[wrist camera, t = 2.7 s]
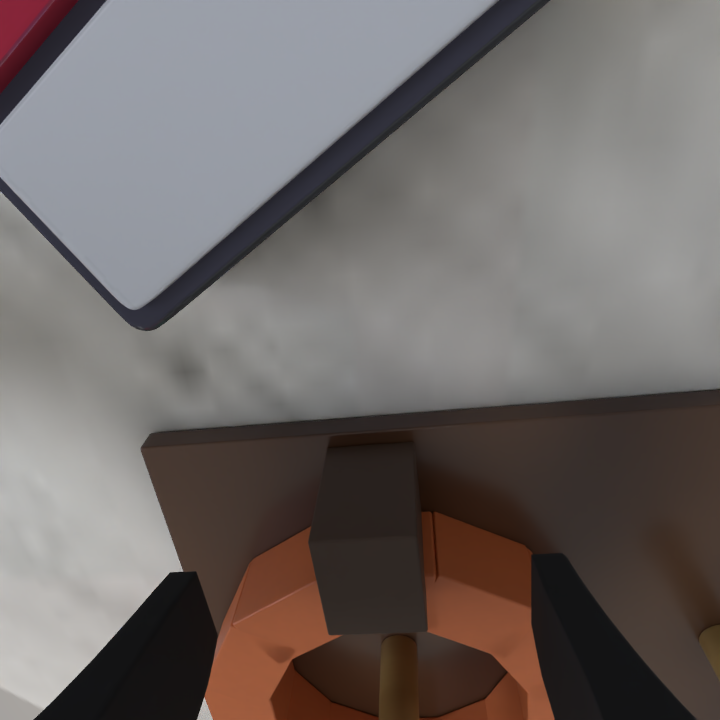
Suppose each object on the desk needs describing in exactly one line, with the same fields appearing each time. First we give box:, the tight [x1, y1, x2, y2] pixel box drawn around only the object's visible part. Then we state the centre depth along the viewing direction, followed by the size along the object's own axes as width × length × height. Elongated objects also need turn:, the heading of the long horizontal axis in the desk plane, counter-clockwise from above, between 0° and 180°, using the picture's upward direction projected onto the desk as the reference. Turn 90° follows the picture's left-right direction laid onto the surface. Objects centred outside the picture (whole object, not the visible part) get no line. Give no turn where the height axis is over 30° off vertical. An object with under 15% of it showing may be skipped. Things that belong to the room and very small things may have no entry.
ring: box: [204, 442, 555, 720], centre depth 17 cm, size 11×14×4 cm
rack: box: [141, 390, 720, 720], centre depth 16 cm, size 23×15×5 cm, turn 97°
